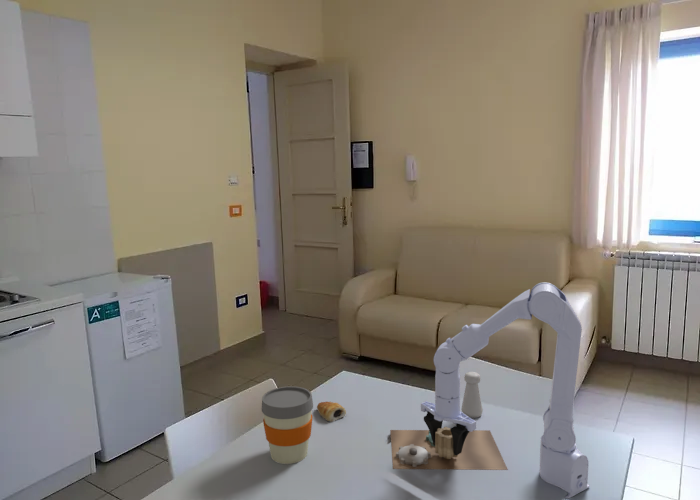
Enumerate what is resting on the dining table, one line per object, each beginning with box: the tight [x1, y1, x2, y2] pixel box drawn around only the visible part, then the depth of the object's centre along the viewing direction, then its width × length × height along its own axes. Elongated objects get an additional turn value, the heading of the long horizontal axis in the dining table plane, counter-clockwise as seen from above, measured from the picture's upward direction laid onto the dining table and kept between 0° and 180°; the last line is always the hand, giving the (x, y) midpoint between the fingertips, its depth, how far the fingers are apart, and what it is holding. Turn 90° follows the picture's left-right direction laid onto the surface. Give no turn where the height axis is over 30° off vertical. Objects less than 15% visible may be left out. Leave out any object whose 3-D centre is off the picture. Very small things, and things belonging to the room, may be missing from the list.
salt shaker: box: [460, 371, 484, 419], centre depth 143 cm, size 6×6×13 cm
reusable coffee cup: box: [261, 385, 314, 465], centre depth 126 cm, size 13×12×15 cm
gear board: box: [389, 429, 509, 471], centre depth 125 cm, size 26×18×5 cm
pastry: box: [316, 401, 347, 423], centre depth 147 cm, size 9×7×4 cm
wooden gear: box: [435, 426, 458, 459], centre depth 121 cm, size 6×6×5 cm
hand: (447, 448), depth 121 cm, fingers closed on wooden gear, 5 cm apart
